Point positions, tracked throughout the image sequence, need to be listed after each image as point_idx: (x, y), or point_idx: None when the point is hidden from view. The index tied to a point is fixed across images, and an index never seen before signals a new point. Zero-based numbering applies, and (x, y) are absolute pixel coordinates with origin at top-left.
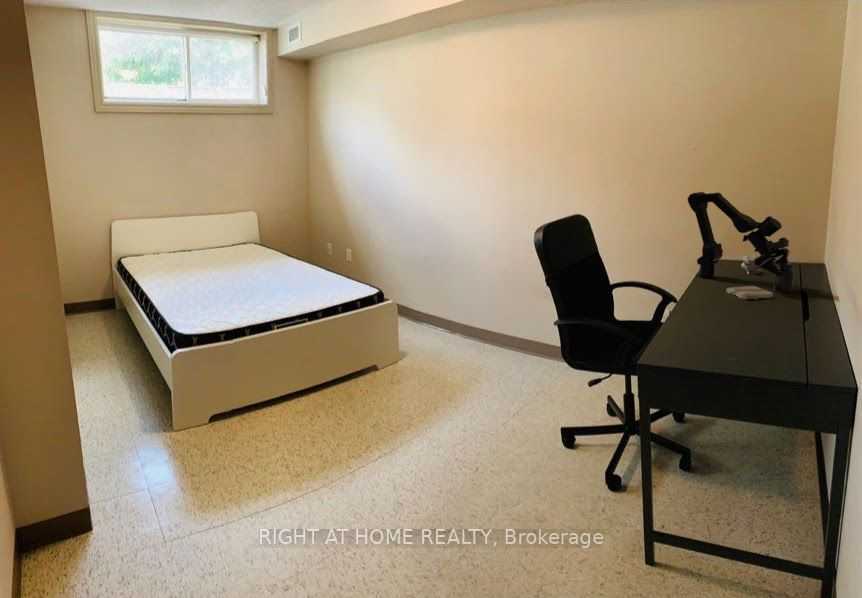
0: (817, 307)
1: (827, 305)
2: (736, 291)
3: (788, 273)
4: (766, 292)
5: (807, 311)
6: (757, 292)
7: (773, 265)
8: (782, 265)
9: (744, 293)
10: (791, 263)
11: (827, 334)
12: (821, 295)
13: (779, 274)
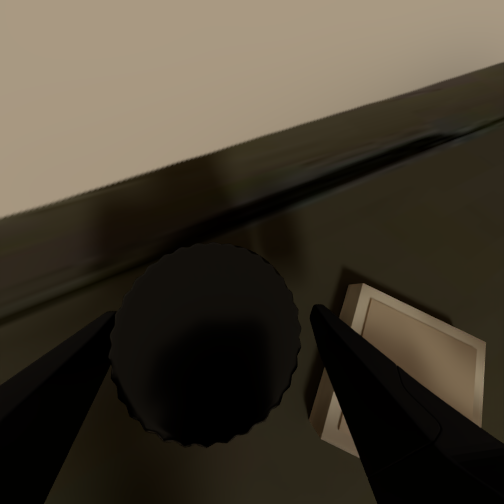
0: (328, 148)
1: (286, 136)
2: (478, 418)
3: (268, 263)
4: (382, 305)
5: (385, 153)
6: (415, 333)
7: (445, 402)
8: (294, 337)
9: (476, 364)
10: (154, 277)
11: (480, 86)
12: (175, 182)
13: (322, 310)
